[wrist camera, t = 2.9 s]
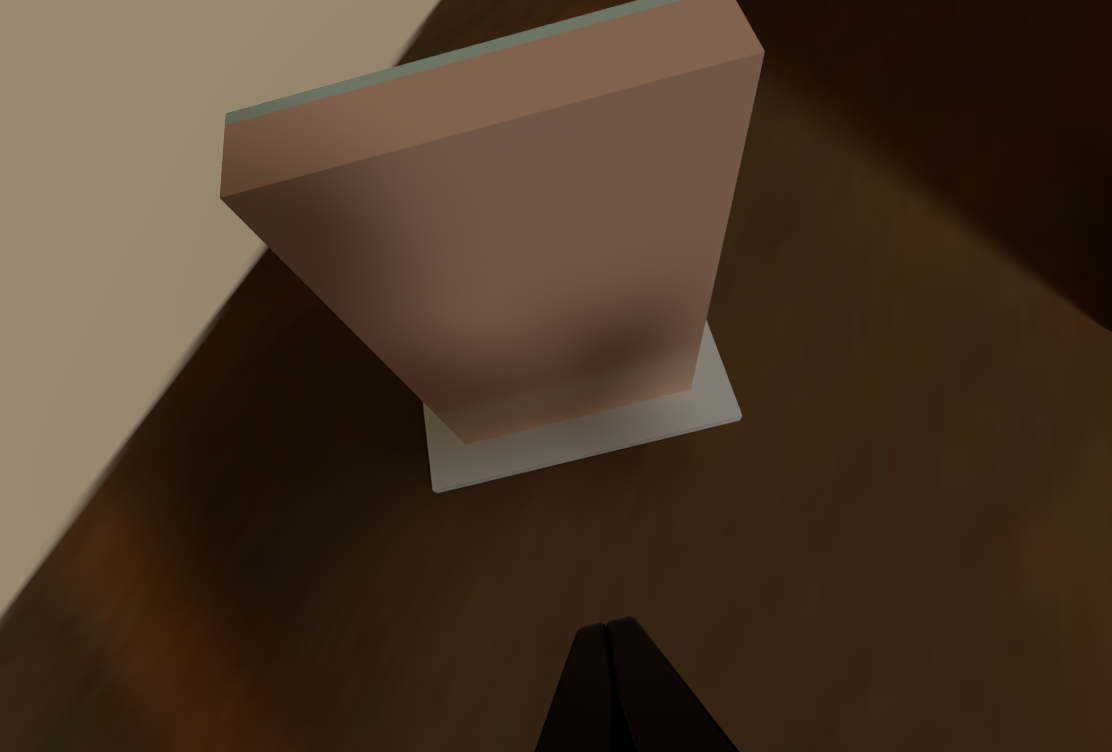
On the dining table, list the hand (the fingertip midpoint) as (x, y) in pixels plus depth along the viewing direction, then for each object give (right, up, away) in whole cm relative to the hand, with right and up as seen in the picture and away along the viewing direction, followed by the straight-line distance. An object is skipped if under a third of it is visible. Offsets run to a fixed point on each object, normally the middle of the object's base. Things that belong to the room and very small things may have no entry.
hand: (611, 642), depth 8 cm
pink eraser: (0, +3, +14) cm, 14 cm away
